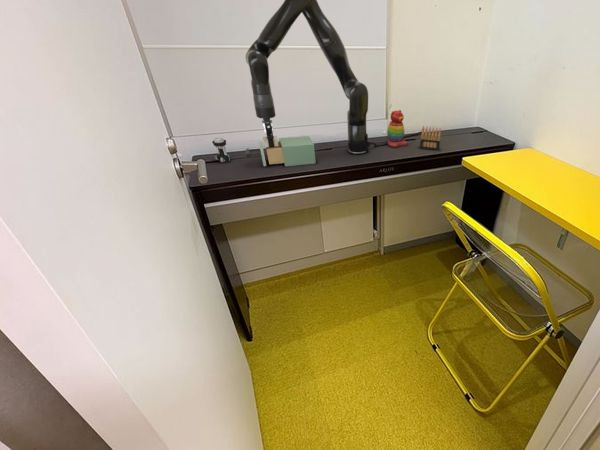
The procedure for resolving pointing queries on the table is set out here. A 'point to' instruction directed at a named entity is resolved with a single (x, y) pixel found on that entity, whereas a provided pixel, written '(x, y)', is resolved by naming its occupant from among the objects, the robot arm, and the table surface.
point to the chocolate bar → (267, 141)
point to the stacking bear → (396, 130)
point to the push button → (221, 150)
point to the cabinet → (298, 151)
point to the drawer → (269, 154)
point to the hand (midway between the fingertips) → (271, 144)
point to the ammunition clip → (430, 139)
